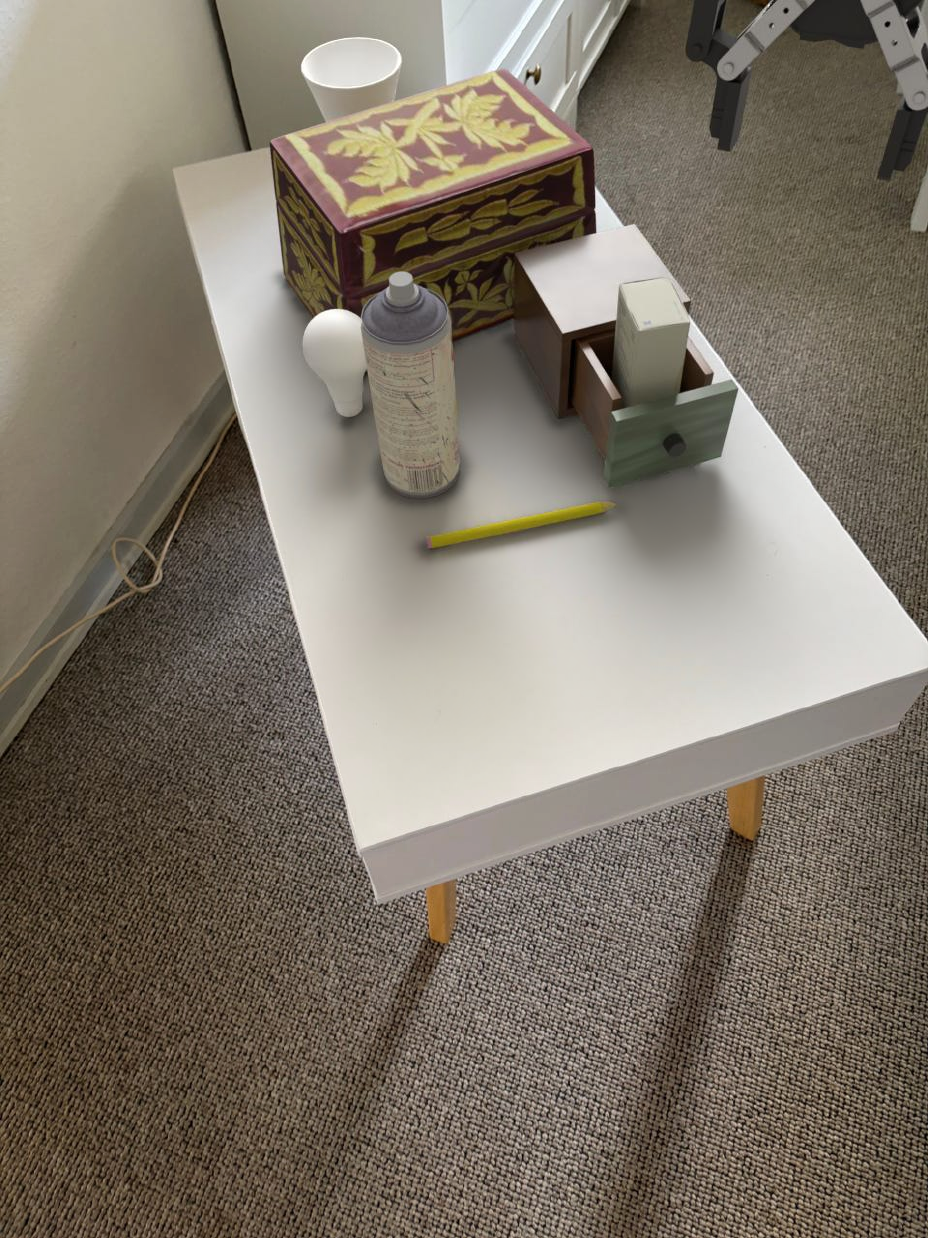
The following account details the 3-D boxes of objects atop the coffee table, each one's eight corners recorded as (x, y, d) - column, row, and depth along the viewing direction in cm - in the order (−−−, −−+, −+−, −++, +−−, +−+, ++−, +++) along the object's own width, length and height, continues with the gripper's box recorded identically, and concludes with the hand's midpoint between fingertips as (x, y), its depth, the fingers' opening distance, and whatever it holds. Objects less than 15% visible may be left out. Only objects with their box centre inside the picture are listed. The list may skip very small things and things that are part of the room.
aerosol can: (476, 471, 87) (467, 279, 70) (415, 511, 84) (392, 323, 68) (427, 430, 90) (408, 237, 73) (368, 467, 87) (334, 277, 71)
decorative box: (353, 380, 94) (329, 243, 81) (282, 275, 103) (251, 137, 91) (599, 288, 100) (611, 147, 88) (510, 196, 110) (511, 58, 97)
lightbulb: (368, 382, 94) (353, 285, 84) (393, 422, 90) (380, 326, 81) (308, 403, 92) (286, 307, 83) (331, 445, 89) (311, 349, 80)
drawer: (727, 466, 84) (745, 398, 78) (614, 499, 83) (622, 432, 76) (669, 378, 91) (681, 308, 84) (562, 407, 89) (566, 338, 83)
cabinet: (675, 387, 92) (691, 300, 83) (557, 419, 90) (562, 333, 82) (624, 310, 98) (634, 223, 90) (513, 339, 96) (514, 252, 88)
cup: (315, 166, 115) (293, 45, 103) (402, 151, 116) (390, 30, 105) (329, 217, 109) (308, 95, 98) (421, 200, 110) (411, 78, 99)
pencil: (429, 551, 82) (428, 543, 81) (426, 542, 82) (425, 534, 81) (618, 511, 83) (619, 504, 82) (615, 503, 84) (616, 495, 83)
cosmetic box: (673, 437, 85) (694, 324, 75) (623, 444, 85) (638, 332, 75) (654, 388, 89) (671, 273, 79) (605, 395, 88) (617, 281, 78)
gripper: (706, -221, 40) (657, 167, 53) (1081, -196, 36) (931, 218, 49) (753, -259, 45) (697, 109, 57) (1093, -240, 41) (952, 152, 53)
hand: (805, 159), depth 53 cm, fingers open, 8 cm apart
